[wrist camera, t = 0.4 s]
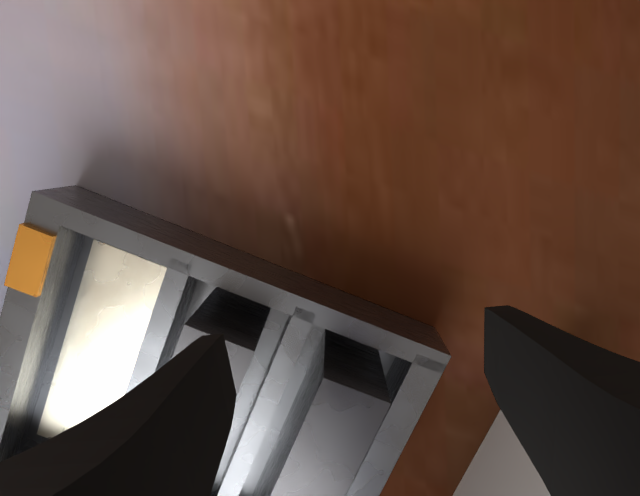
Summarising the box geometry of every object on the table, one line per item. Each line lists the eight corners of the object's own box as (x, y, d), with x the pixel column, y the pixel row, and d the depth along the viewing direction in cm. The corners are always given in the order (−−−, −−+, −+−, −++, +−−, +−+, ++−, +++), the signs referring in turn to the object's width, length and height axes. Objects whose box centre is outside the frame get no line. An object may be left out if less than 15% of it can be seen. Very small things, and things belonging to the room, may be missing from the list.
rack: (321, 552, 27) (319, 661, 21) (5, 440, 25) (-88, 523, 20) (434, 327, 23) (467, 384, 18) (75, 185, 22) (-13, 197, 16)
